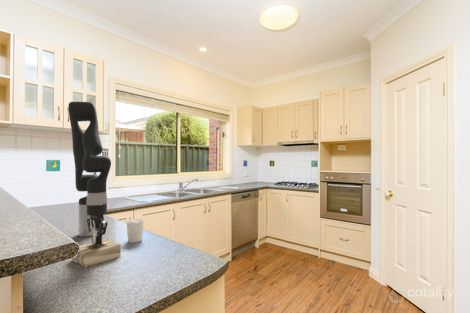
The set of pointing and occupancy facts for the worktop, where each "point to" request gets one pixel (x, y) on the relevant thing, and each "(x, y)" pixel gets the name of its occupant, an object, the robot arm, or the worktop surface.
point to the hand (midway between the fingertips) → (96, 243)
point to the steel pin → (95, 239)
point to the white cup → (134, 230)
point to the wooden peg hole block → (97, 253)
